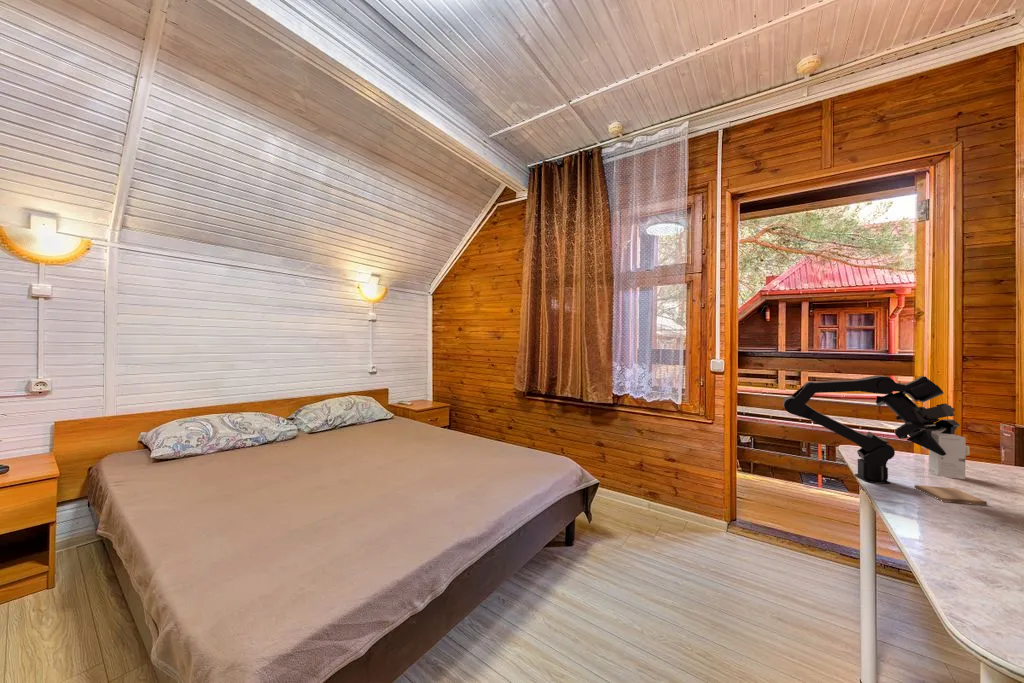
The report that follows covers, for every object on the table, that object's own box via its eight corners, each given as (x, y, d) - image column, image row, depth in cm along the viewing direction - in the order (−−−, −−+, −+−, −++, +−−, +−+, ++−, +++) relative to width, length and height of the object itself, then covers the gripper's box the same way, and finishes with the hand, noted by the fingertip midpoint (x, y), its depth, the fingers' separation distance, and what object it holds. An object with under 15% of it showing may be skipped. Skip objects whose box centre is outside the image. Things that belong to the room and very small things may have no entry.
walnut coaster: (942, 501, 107) (942, 498, 107) (914, 488, 117) (914, 485, 117) (986, 505, 105) (986, 501, 105) (954, 491, 114) (954, 488, 114)
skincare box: (938, 476, 108) (938, 435, 108) (927, 471, 113) (927, 432, 113) (967, 479, 106) (967, 437, 106) (955, 474, 111) (955, 433, 110)
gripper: (907, 395, 111) (958, 442, 100) (951, 393, 115) (1004, 437, 105) (876, 416, 119) (920, 461, 108) (918, 413, 123) (965, 457, 112)
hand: (953, 454), depth 108 cm, fingers closed on skincare box, 7 cm apart
